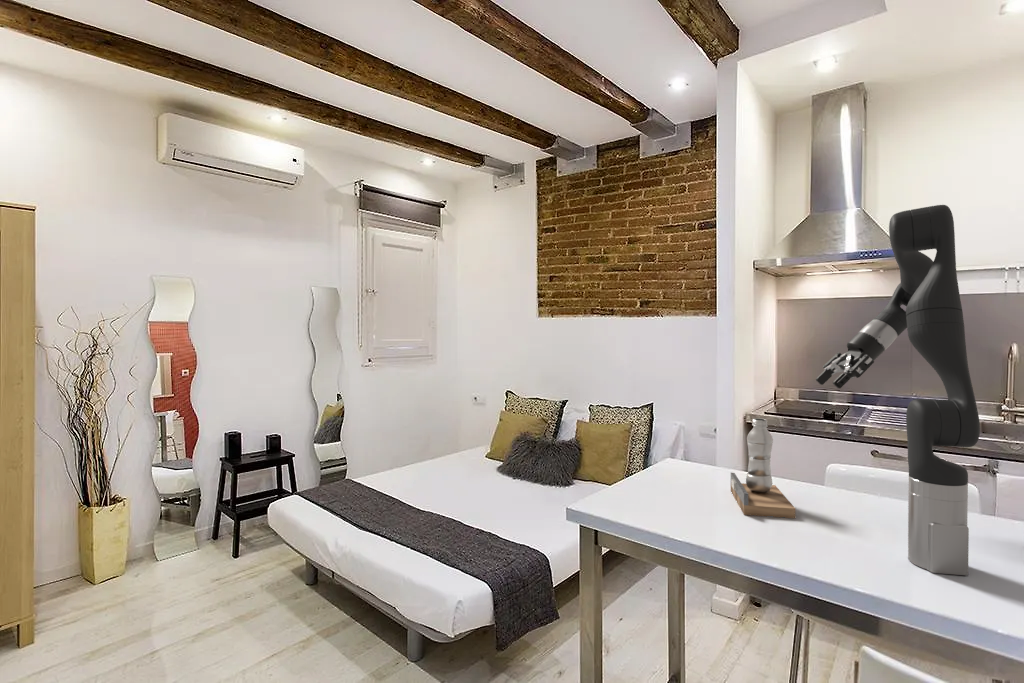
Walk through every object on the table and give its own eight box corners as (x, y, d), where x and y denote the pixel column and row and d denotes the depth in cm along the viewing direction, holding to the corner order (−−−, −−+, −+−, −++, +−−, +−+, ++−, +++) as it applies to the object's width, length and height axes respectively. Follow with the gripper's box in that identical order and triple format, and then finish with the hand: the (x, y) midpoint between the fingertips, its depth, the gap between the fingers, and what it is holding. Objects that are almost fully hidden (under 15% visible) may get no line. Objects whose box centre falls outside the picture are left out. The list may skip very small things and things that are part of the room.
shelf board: (795, 518, 131) (795, 508, 131) (744, 514, 134) (744, 505, 134) (775, 493, 151) (775, 485, 151) (730, 491, 154) (730, 482, 153)
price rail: (748, 505, 134) (748, 493, 134) (741, 505, 134) (741, 493, 134) (734, 482, 153) (734, 472, 153) (728, 482, 154) (728, 472, 154)
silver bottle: (742, 487, 149) (742, 417, 148) (766, 487, 148) (767, 417, 148) (751, 494, 142) (751, 421, 141) (776, 495, 142) (777, 421, 141)
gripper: (846, 330, 146) (803, 372, 147) (878, 331, 131) (831, 376, 132) (865, 349, 145) (822, 391, 146) (900, 351, 131) (852, 397, 132)
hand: (826, 384), depth 139 cm, fingers open, 8 cm apart
